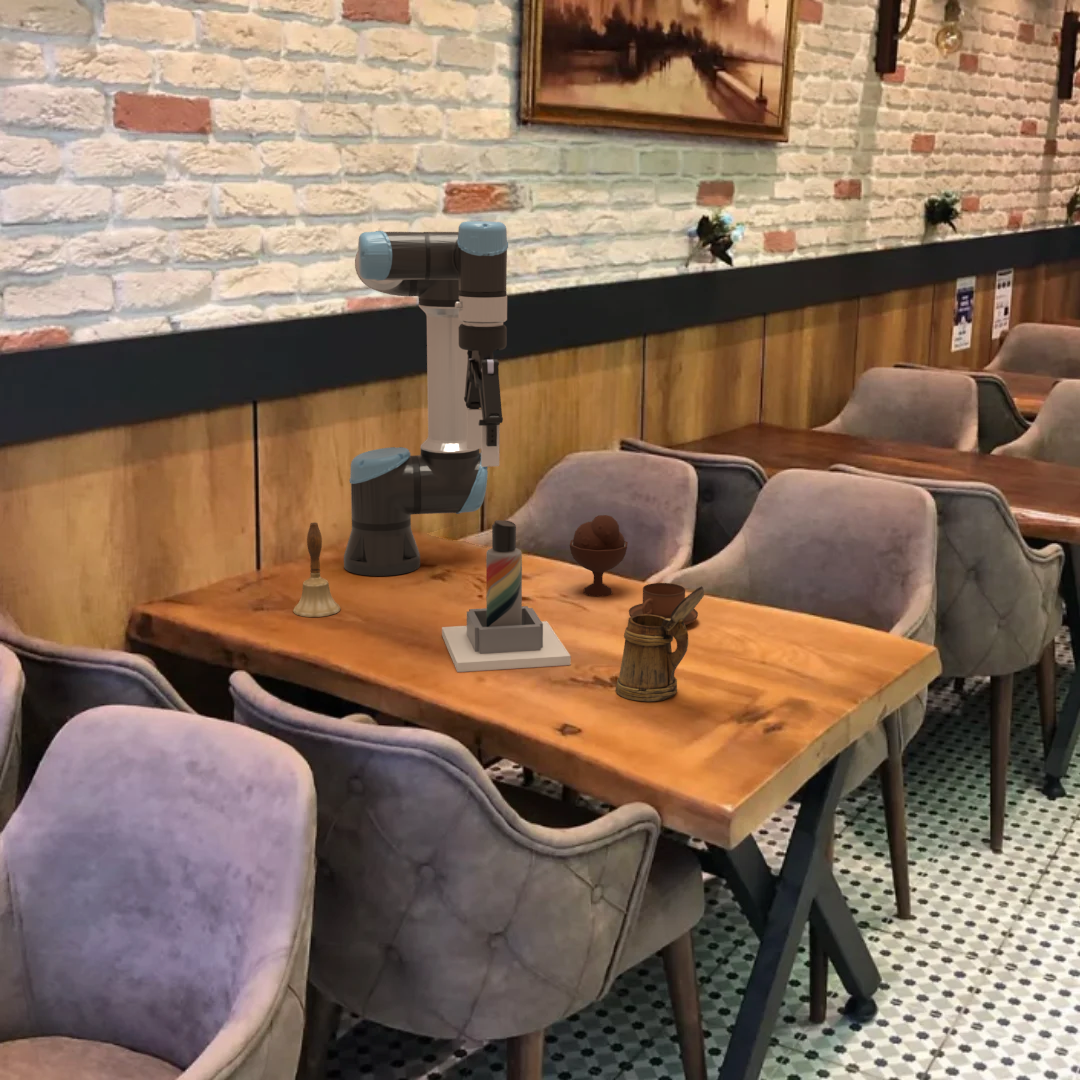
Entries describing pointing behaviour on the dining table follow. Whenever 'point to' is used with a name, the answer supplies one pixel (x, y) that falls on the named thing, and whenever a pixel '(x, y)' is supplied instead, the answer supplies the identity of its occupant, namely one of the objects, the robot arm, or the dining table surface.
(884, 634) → the dining table surface
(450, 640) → the bottle holder
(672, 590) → the cup and saucer
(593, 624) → the dining table surface
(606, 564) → the ice cream bowl
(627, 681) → the wooden mug
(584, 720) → the dining table surface
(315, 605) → the hand bell
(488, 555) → the lotion bottle
